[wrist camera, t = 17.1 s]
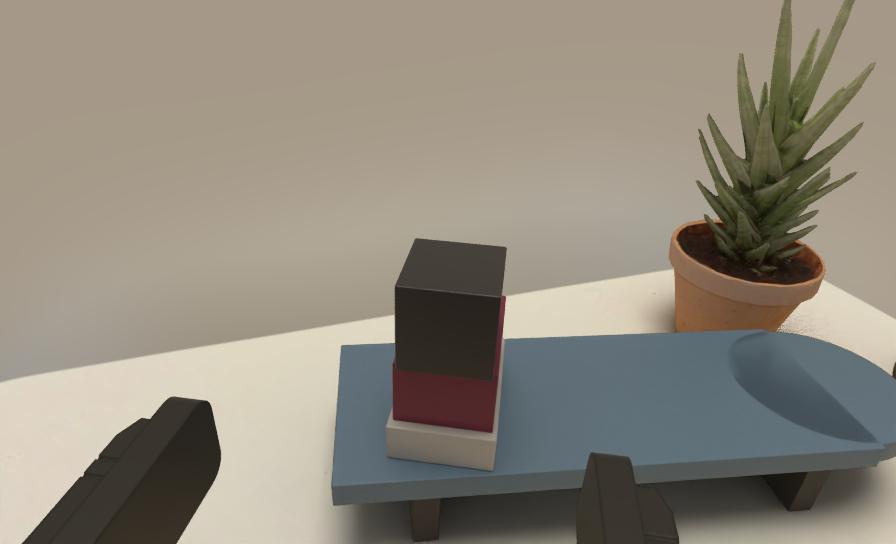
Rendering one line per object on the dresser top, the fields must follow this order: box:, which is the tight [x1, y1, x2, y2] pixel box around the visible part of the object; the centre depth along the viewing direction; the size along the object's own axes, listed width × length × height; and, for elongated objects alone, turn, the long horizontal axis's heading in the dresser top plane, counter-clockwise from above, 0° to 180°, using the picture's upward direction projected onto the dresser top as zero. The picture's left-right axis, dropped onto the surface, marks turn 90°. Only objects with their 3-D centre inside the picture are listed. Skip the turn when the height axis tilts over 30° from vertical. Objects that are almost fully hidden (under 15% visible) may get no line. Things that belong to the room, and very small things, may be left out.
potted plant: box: [669, 0, 876, 332], centre depth 36 cm, size 10×10×25 cm
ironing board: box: [331, 329, 896, 541], centre depth 30 cm, size 30×10×5 cm, turn 97°
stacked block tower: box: [386, 238, 507, 471], centre depth 26 cm, size 9×5×9 cm, turn 172°
